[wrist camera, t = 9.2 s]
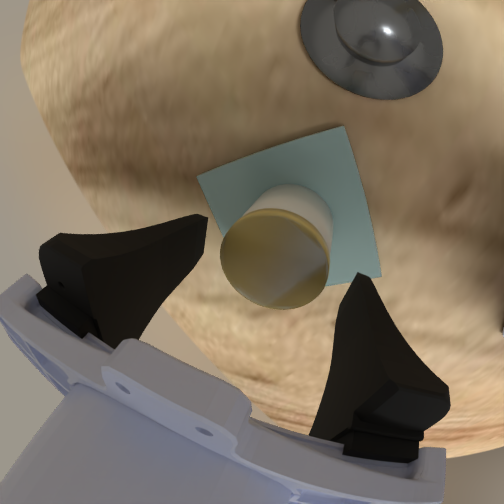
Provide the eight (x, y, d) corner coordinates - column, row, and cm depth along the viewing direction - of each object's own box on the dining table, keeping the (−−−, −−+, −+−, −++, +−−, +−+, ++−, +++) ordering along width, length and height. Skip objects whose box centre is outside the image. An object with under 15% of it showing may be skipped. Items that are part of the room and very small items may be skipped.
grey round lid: (459, 89, 9) (478, 88, 7) (334, 114, 13) (332, 115, 11) (402, -28, 6) (410, -46, 4) (279, -2, 10) (266, -18, 8)
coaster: (380, 269, 16) (381, 276, 15) (254, 290, 20) (251, 296, 19) (343, 125, 13) (343, 126, 12) (202, 173, 17) (196, 176, 16)
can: (308, 274, 17) (294, 324, 13) (238, 236, 17) (207, 277, 14) (350, 211, 14) (351, 252, 11) (271, 167, 14) (243, 192, 11)
